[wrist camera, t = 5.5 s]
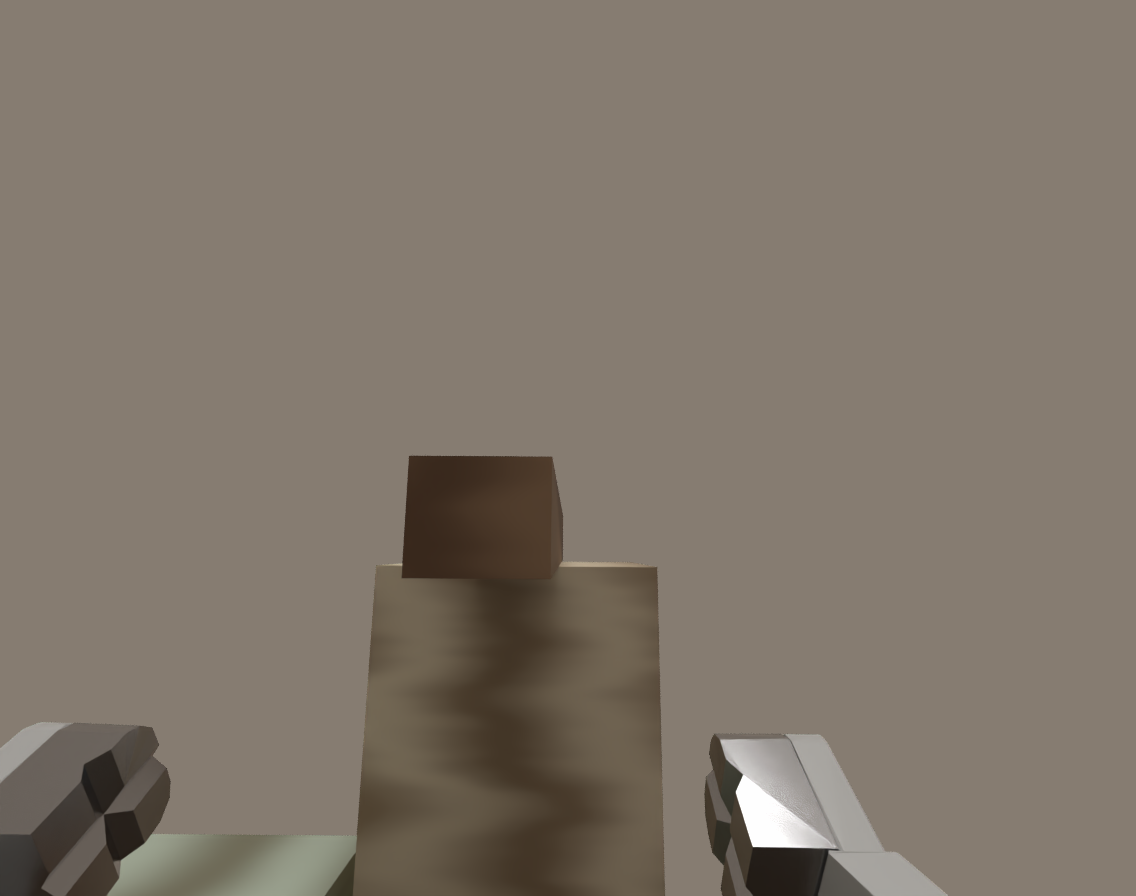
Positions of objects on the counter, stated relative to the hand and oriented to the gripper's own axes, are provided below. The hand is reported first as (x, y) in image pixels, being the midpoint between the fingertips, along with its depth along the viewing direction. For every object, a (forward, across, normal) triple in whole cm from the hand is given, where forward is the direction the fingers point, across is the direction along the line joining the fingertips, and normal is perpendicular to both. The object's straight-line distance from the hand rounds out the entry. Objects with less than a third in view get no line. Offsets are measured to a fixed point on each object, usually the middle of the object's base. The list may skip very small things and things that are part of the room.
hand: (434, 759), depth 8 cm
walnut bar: (+12, 0, +4) cm, 13 cm away
